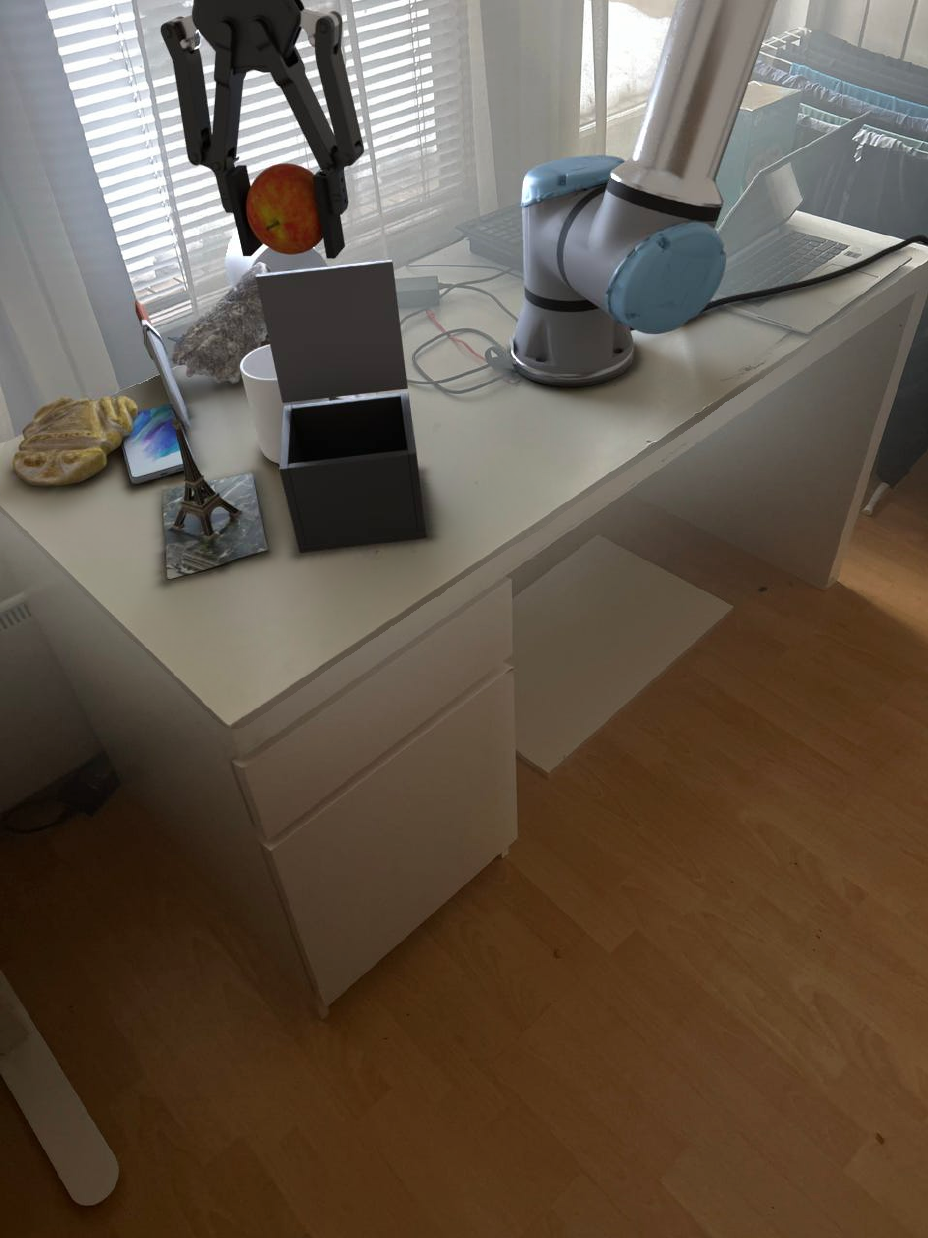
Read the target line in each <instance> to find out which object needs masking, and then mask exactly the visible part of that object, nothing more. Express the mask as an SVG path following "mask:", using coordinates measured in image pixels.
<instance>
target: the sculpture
mask: <svg viewBox="0 0 928 1238" xmlns="http://www.w3.org/2000/svg"><path fill="white" fill-rule="evenodd" d="M138 412H139V410H138V406H137V404H136V402H135V401H134V400H133V399H131V398H129V397H128V396H125V395H120V396H119V397H117V398H116V399H115V398H114V397H111V396H103V397H101V398H100V400H93V399H91V398H90V397H82V398H79V399H76V400H74V399H73V398H72V397H67V396H63V397H60V398H58V399H56V400H54V401H52V402H50V403H48V404H45V405H43V406H42V407H40V408H39V409H38V410H37V411H36V412H35V414H34V415H33V419H32V420H31V421H30V422H29V423H28V424H27V425H26V426H25V427H24V428H23V429H22V435H23V438H24V439H23V440H22V441H21V442H20V443H19V445H18V449H19V450H18V451H17V452H15V454H14V456H13V459H12V467H13V469H14V472H15V473H16V475H17V476H18V478H19V479H21V480H22V481H23V482H25V483H27V484H30V485H32V486H37V487H38V486H39V487H54V486H63V485H70V484H76V483H77V484H78V483H80V482H83V481H85V480H87V479H89V478H90V477H92V476H94V475H96V474H97V473H99V472H101V471H102V470H103V469H104V468H105V467H106V466H107V463H108V459H107V456H108V455H109V454H110V453H112V452H113V451H114V450H116V449H118V448H119V447H120V446H121V442H122V440H123V438H124V437H126V436H128V435H130V434H131V432H132V430H133V426H134V423H133V421H134V420H136V418H137V416H138Z"/></svg>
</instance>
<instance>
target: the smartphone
mask: <svg viewBox="0 0 928 1238" xmlns="http://www.w3.org/2000/svg"><path fill="white" fill-rule="evenodd" d="M171 409H172V410H171ZM172 411H173V413H172ZM173 414H174V416H173ZM174 417H175V418H176V419H177V420H179V422H180V423H181V424H180V427H181V430H182V433H183V435H184V437H185V440H186V442H187V445H188V447H189V450H190V452H191V454H192V457H193V459H194V461H195V458H194V455H193V453H192V449H191V447H190V444H189V442H188V439H187V437H186V434H185V431H184V426H183V424H182V421H181V420H180V419H179V417H178V416H177V414H176V412H175V410H174V408H173V406H172V404H171V403H166V404H162V405H159V406H156V407H151V408H148V409H144V410H141V411H138V416H137V418H136V420H134V421H133V423H134V426H133V430H132V432H131V434H130V435H128V436H126V437H124V438H123V440H122V442H121V444H120V446H121V449H122V452H123V457H124V460H125V464H126V468H127V473H128V475H129V479H130V481H131V483H132V484H135V485H136V484H141V483H142V484H143V483H145V482H149V481H152V480H155V479H160V478H162V477H166V476H169V475H173V474H176V473H179V472H184V467H183V462H182V457H181V453H180V449H179V444H178V440H177V436H176V432H175V428H174V426H172V421H173V418H174ZM195 462H196V461H195Z"/></svg>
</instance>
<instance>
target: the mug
mask: <svg viewBox="0 0 928 1238" xmlns="http://www.w3.org/2000/svg"><path fill="white" fill-rule="evenodd" d="M240 370H241V378H242V383H243V385H244V390H245V393H246V398H247V402H248V406H249V409H250V414H251V417H252V422H253V425H254V426H253V427H254V429H255V433H256V438H257V441H258V444H259V447H260V451H261V452H262V454H263V456H264V457H266V458H267V460H269V461H271V462H273V463H275V464H278V465H280V452H281V437H282V423H283V409H284V406H288V405H298V404H307V403H315V402H324V401H330V398H323V399H314V400H306V401H297V402H288V403H282V399H281V394H280V389H279V385H278V380H277V375H276V370H275V366H274V361H273V356H272V352H271V347H270V345H266V346H263V347H260V348H258V349H256V350H254V351H252V352H250V353H249V354H248V355H246V356H245V357H244V358H243V360H242V361H241V364H240ZM355 398H359V394H358V395H355Z"/></svg>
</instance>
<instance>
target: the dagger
mask: <svg viewBox="0 0 928 1238" xmlns="http://www.w3.org/2000/svg"><path fill="white" fill-rule="evenodd" d="M134 307H135V310H134V311H135V313H136V316H137V319H138V322H139V324H140V326H141V337H142V338H141V340H142V342H143V345H144V346H145V349H146V351H147V353H148V355H149V357H150V359H151V360H152V361H153V363H154V365H155V367H156V369H157V371H158V374H159V376H160V378H161V380H162V383H163V385H164V388H165V391H166V393H167V395H168V399H169V401H170V404H172V406H173V408H174V410H175V412H176V414H177V416H178V417H179V419H180V421H181V424H182V425H184V426H183V427H185V429H186V430H188V429H191V428H190V422H189V415H188V414H189V413H188V409H187V406H186V403H185V402H184V399H183V397H182V394H181V392H180V389H179V387H178V385H177V382H176V379H175V376H174V373H173V370H172V367H171V364H170V360H169V358H168V350H167V348H166V345H165V344H164V341H163V339H162V337H161V334H160V333H159V332H158V331H157V329H155V328H154V326H153V323H152V321H151V319H150V317H149V314H148V311H147V310H146V308H145V307H144V306H143V304H141V303H140V302H139V300H135V301H134Z"/></svg>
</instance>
